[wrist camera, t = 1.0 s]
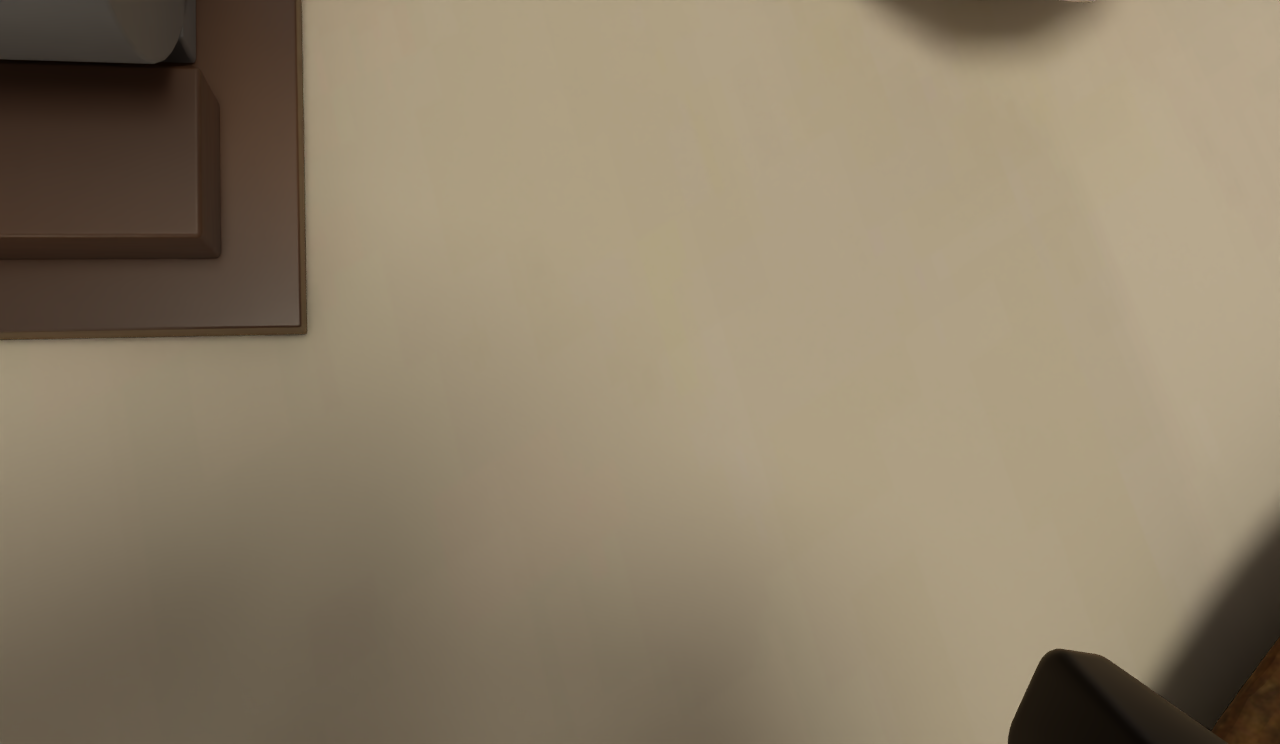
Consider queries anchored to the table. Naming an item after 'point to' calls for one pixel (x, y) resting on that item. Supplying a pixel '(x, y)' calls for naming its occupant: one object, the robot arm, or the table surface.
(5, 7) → the tape roll
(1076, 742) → the robot arm
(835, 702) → the table surface
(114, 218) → the holder
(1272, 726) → the artifact
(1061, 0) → the ball
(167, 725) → the table surface
